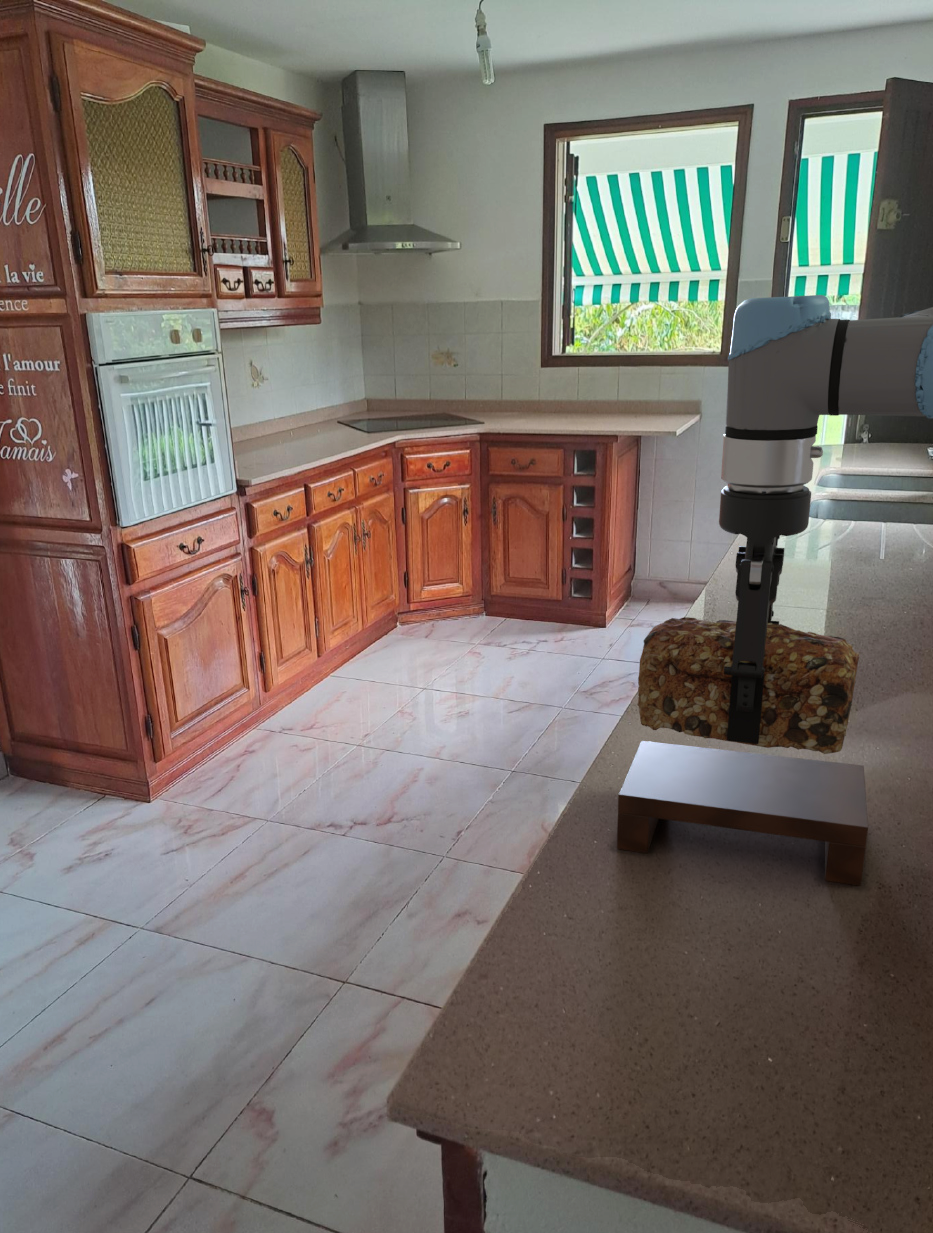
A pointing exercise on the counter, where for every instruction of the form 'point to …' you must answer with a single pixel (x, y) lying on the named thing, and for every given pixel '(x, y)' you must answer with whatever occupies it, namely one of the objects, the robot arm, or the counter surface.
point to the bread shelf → (748, 799)
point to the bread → (792, 693)
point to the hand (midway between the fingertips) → (747, 716)
